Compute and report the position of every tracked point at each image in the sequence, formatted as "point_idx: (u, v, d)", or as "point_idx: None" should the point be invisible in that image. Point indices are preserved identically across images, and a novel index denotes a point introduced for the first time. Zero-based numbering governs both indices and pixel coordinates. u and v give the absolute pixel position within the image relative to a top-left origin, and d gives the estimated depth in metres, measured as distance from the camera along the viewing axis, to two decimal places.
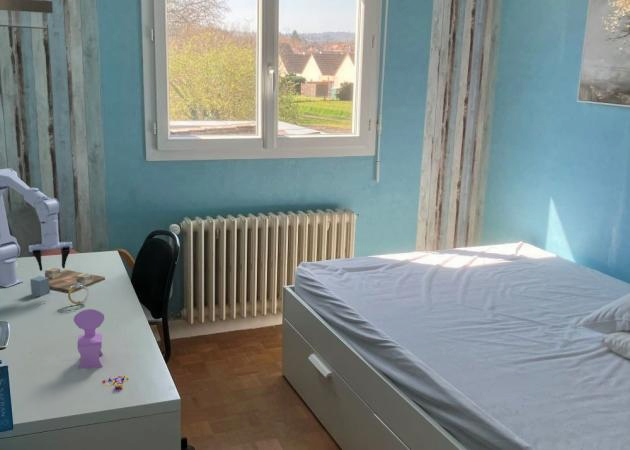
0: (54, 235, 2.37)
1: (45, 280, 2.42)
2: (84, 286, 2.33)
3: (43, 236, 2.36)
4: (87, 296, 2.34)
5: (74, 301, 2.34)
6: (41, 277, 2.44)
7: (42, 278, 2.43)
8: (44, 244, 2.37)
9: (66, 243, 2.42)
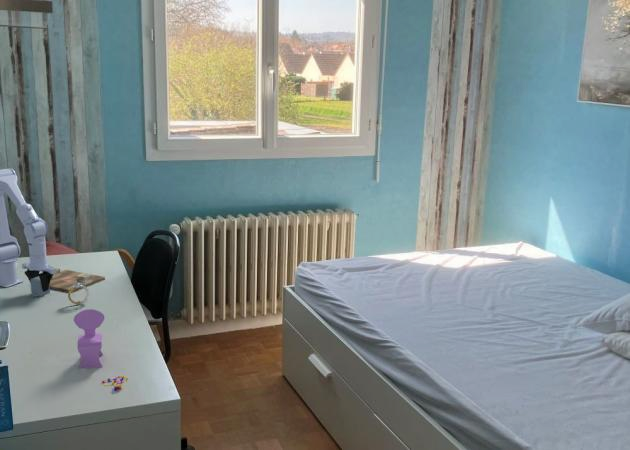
0: (34, 257, 2.38)
1: None
2: (84, 286, 2.33)
3: None
4: (87, 296, 2.34)
5: (74, 301, 2.34)
6: None
7: None
8: None
9: (49, 268, 2.39)
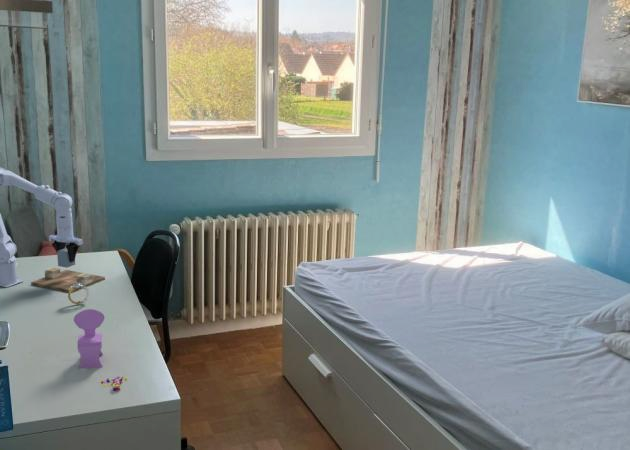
0: (62, 229, 2.50)
1: None
2: (84, 286, 2.33)
3: None
4: (87, 296, 2.34)
5: (74, 301, 2.34)
6: None
7: None
8: None
9: (76, 239, 2.51)
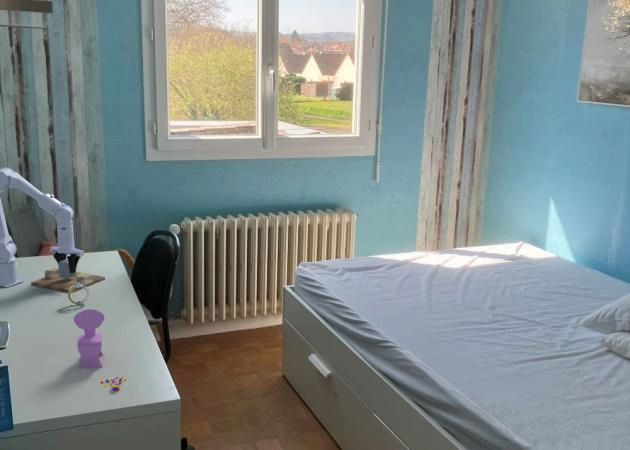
0: (63, 241, 2.51)
1: None
2: (84, 286, 2.33)
3: None
4: (87, 296, 2.34)
5: (74, 301, 2.34)
6: None
7: None
8: (58, 247, 2.54)
9: (77, 251, 2.52)
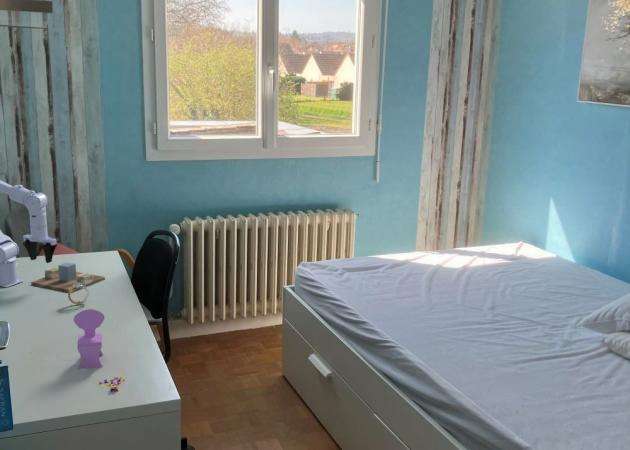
0: (35, 229, 2.44)
1: (72, 266, 2.56)
2: (84, 286, 2.33)
3: None
4: (87, 296, 2.34)
5: (74, 301, 2.34)
6: (68, 263, 2.57)
7: (69, 264, 2.56)
8: None
9: (50, 239, 2.46)
